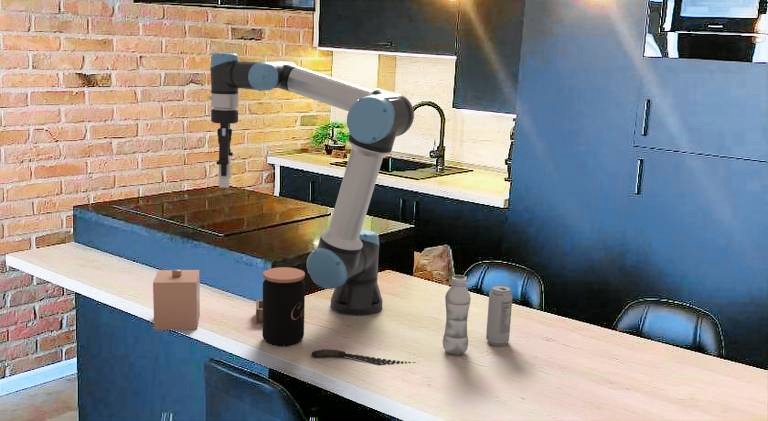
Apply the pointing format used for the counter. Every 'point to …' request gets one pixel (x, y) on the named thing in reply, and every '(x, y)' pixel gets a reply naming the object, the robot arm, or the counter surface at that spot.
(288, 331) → the coffee jar
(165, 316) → the cube with knob
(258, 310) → the walnut open box
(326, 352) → the knife
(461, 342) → the plastic bottle
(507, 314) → the energy drink can
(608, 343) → the counter surface
